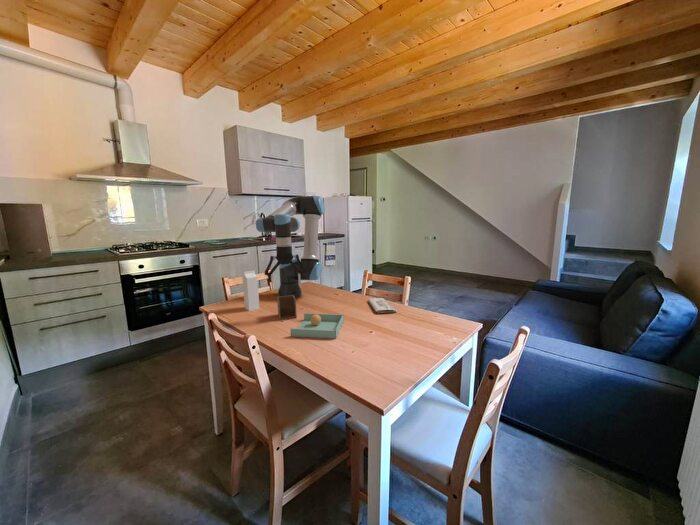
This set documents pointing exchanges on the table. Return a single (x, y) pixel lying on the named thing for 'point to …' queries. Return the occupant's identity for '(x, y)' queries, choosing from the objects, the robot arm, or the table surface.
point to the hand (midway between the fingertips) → (286, 287)
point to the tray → (319, 326)
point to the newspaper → (381, 305)
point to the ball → (315, 319)
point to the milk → (250, 290)
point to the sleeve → (286, 306)
